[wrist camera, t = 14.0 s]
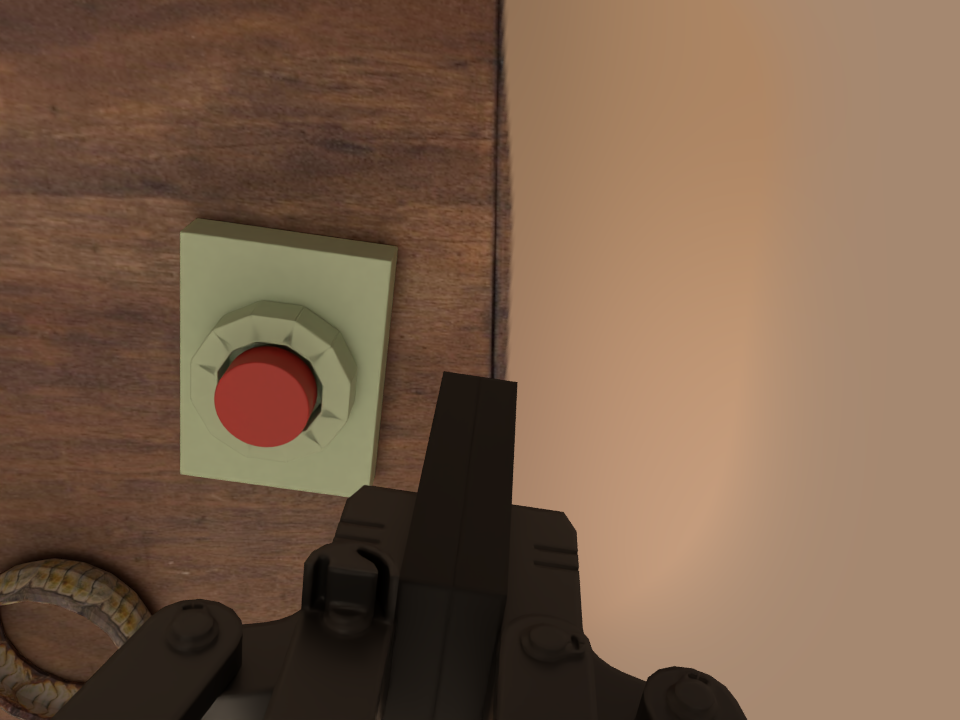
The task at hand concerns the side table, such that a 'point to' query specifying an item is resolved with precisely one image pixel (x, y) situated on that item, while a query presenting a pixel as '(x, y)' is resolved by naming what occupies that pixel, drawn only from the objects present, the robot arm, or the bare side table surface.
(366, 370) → the box
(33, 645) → the side table surface
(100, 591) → the decorative ring
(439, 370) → the side table surface
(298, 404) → the button
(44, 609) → the side table surface
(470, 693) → the robot arm
